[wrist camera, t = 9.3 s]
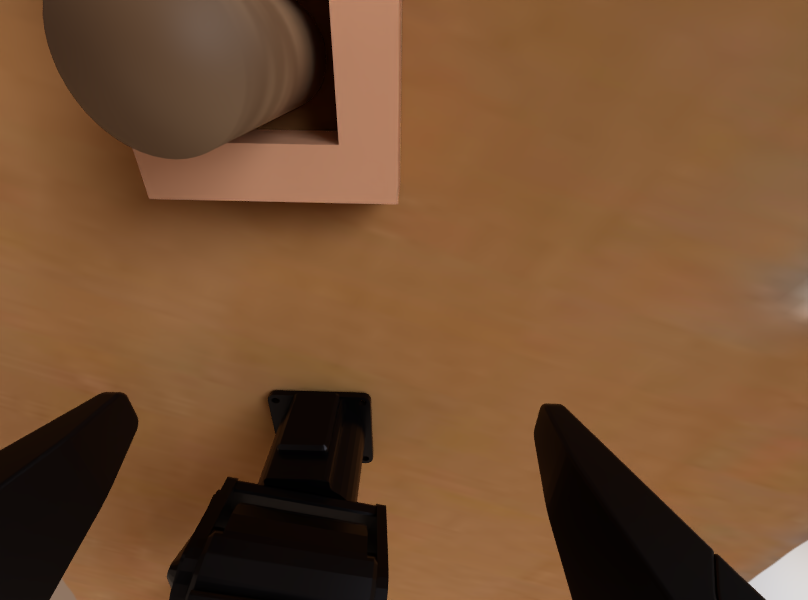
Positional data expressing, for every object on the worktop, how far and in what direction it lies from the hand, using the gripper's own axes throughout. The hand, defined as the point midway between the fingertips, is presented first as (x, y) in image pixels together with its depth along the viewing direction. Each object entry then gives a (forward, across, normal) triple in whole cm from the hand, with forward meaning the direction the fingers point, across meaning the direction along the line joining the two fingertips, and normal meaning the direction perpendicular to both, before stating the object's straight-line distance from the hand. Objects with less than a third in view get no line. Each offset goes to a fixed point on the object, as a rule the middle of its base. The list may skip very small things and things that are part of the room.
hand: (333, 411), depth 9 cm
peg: (+12, +4, -6) cm, 15 cm away
